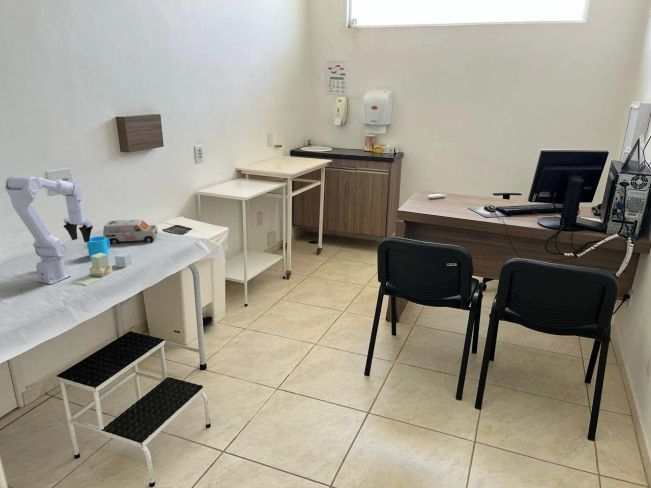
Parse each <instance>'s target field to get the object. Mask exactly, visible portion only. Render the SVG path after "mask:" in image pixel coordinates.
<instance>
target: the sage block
mask: <svg viewBox="0 0 651 488" xmlns="http://www.w3.org/2000/svg"><path fill="white" fill-rule="evenodd" d="M90 261H91V266H92V267H93V268H97V269H102V268H104V267H107V266H109V264H110V263H109V255H108V256H107V254H103V253H98V254H95V255H92V256H91V258H90Z"/></svg>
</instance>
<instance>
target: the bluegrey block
mask: <svg viewBox="0 0 651 488" xmlns="http://www.w3.org/2000/svg"><path fill="white" fill-rule="evenodd" d="M114 261H115V267H116V268H128V267H129V266H130V265H132V259H131V253H129V252H120V253H117V254H116V255H114Z"/></svg>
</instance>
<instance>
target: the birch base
mask: <svg viewBox="0 0 651 488" xmlns="http://www.w3.org/2000/svg"><path fill="white" fill-rule="evenodd" d="M113 271H114V270H113V265H112V264H110V263H109V266H107V267H104V268H102V269H97V268H93V267H90V268H89V275H90V276H89V277H96V278H98V277H99V278H104V277H106V276H108V275H109V274H111V273H113Z"/></svg>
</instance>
